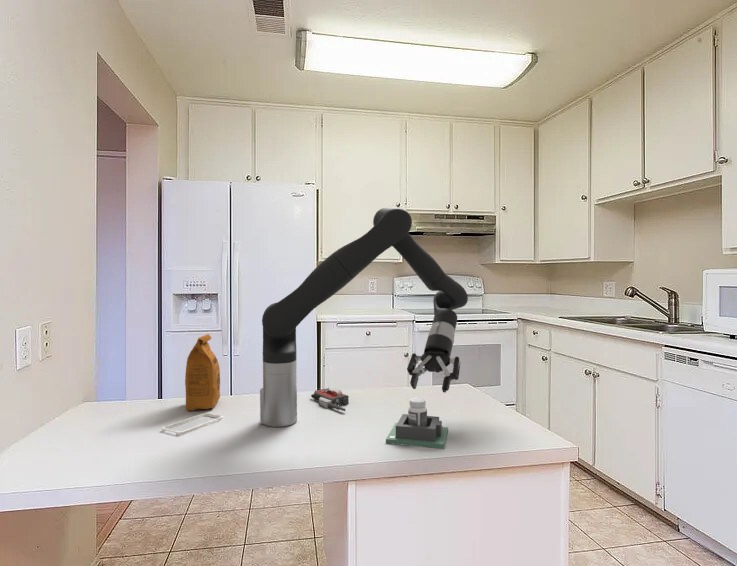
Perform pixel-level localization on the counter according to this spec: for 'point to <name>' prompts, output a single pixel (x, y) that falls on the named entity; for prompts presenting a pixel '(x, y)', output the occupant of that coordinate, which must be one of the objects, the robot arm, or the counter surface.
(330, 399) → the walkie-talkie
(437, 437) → the socket board
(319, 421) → the counter surface
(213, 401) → the coffee package
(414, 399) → the pill bottle
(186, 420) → the phone case
